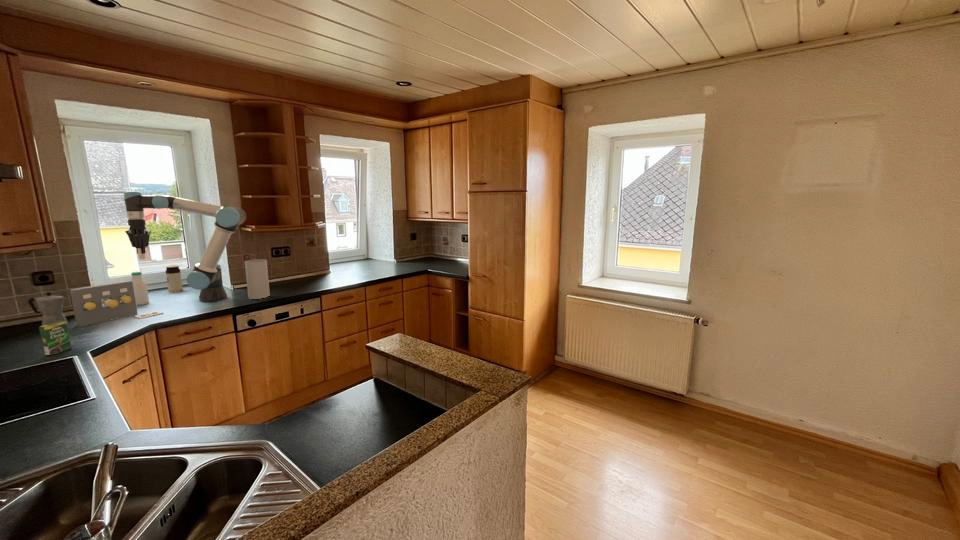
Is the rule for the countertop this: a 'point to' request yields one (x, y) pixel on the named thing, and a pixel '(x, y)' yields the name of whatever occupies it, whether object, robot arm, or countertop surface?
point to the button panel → (95, 296)
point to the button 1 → (89, 305)
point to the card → (148, 314)
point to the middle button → (110, 303)
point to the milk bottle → (139, 289)
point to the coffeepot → (49, 308)
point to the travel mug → (174, 278)
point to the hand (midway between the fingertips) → (142, 259)
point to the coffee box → (55, 337)
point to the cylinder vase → (257, 278)
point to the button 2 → (125, 299)
